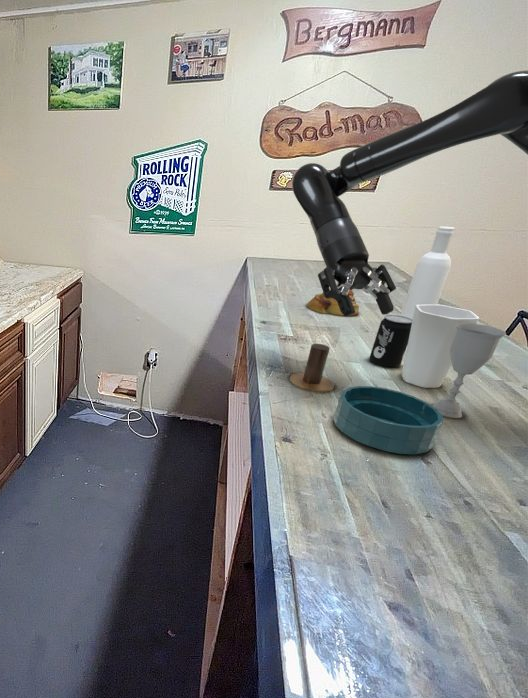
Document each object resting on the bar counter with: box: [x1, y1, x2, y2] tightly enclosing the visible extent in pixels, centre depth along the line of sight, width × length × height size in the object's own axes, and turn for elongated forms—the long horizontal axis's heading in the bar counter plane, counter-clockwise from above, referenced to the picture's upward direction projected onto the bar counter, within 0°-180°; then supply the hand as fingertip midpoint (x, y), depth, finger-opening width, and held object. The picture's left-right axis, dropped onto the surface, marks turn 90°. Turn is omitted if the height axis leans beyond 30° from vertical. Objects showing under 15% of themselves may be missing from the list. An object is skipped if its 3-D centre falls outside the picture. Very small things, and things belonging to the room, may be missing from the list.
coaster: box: [289, 372, 335, 393], centre depth 105 cm, size 9×9×1 cm
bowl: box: [332, 385, 444, 455], centre depth 85 cm, size 15×15×6 cm
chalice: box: [432, 323, 507, 419], centre depth 90 cm, size 7×7×18 cm
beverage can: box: [369, 314, 412, 369], centre depth 113 cm, size 7×7×12 cm
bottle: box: [399, 225, 456, 320], centre depth 135 cm, size 8×8×30 cm
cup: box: [401, 303, 480, 389], centre depth 103 cm, size 11×10×17 cm
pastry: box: [306, 289, 360, 318], centre depth 155 cm, size 13×15×8 cm
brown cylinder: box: [303, 343, 331, 384], centre depth 103 cm, size 4×4×8 cm
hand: (369, 313), depth 90 cm, fingers open, 8 cm apart
